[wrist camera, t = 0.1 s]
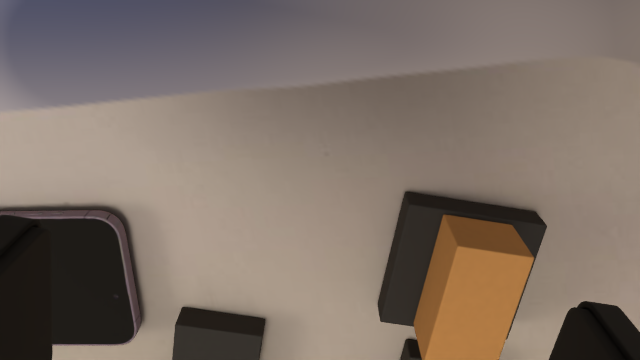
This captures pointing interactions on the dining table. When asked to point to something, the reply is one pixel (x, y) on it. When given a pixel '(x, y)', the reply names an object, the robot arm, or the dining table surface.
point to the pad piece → (458, 274)
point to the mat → (231, 337)
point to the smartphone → (89, 278)
